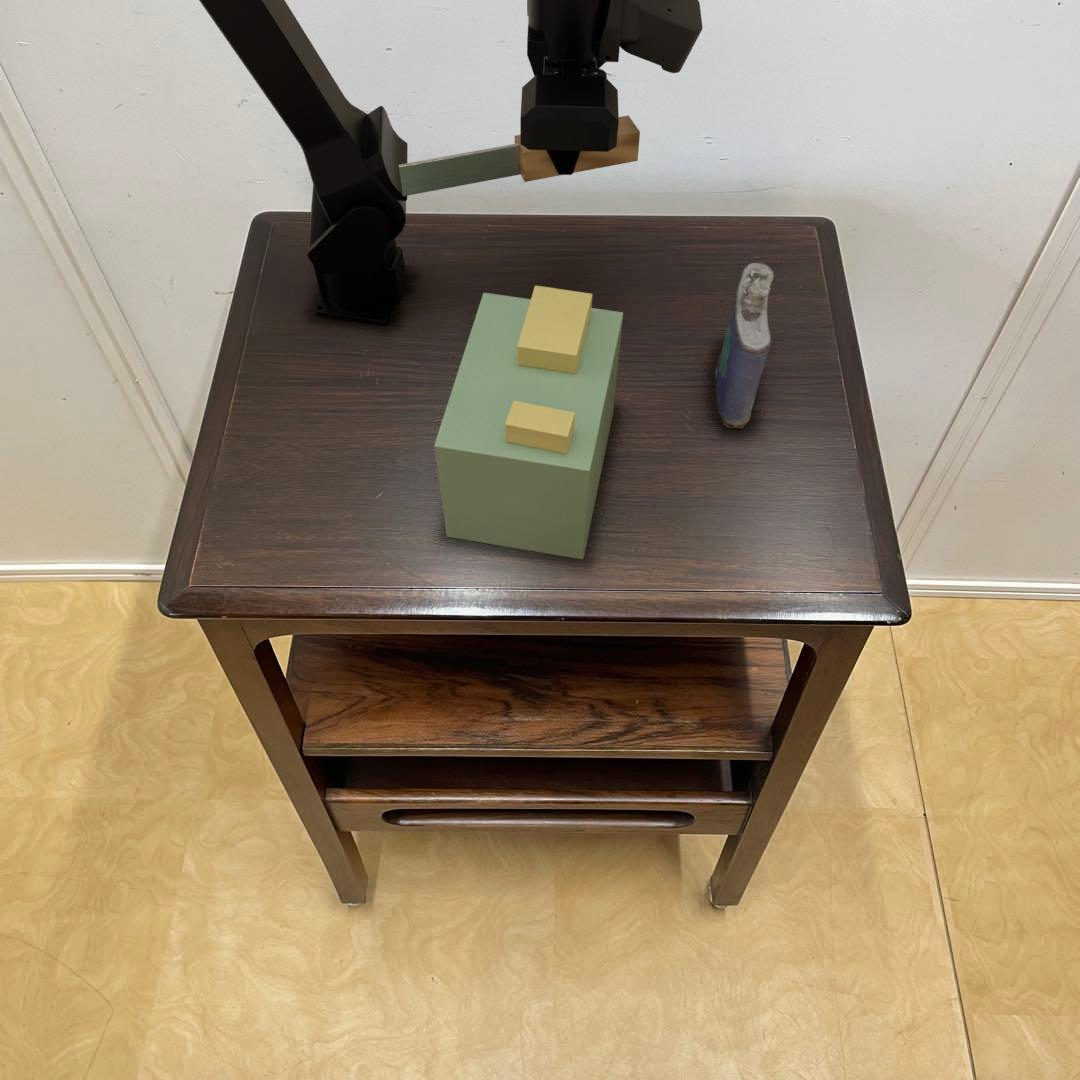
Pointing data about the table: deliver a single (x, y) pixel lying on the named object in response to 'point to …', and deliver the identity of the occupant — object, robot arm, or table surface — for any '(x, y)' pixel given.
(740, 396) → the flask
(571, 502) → the stand
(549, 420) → the butter pat
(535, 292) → the butter stick
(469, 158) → the knife
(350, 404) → the table surface
